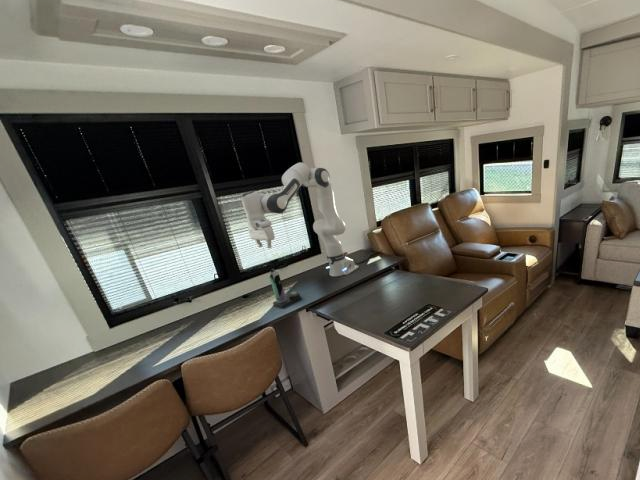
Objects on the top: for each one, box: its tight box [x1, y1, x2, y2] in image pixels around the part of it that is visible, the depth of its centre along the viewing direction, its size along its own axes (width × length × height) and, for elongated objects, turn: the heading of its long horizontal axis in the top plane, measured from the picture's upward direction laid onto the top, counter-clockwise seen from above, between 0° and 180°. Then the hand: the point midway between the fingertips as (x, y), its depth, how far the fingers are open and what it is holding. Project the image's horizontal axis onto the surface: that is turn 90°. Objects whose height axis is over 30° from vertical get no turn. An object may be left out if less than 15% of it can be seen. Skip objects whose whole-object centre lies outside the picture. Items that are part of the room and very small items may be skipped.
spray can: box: [268, 268, 287, 303], centre depth 182 cm, size 6×6×20 cm
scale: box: [272, 291, 302, 310], centre depth 187 cm, size 14×11×4 cm
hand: (265, 247), depth 174 cm, fingers open, 8 cm apart
